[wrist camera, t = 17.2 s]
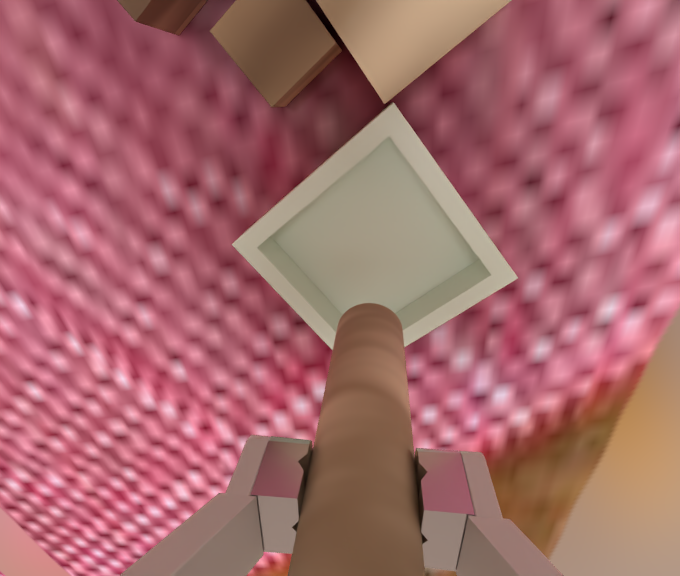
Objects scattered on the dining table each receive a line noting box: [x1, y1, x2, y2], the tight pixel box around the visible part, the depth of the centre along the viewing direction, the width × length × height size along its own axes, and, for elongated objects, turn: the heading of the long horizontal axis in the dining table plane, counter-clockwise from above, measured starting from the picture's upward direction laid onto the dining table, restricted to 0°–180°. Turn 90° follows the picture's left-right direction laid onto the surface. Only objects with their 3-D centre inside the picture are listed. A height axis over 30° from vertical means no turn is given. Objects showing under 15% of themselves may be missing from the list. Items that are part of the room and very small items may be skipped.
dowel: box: [288, 303, 425, 576], centre depth 11 cm, size 2×2×10 cm
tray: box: [232, 102, 518, 350], centre depth 23 cm, size 11×11×3 cm
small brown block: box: [210, 0, 342, 107], centre depth 19 cm, size 4×4×3 cm
